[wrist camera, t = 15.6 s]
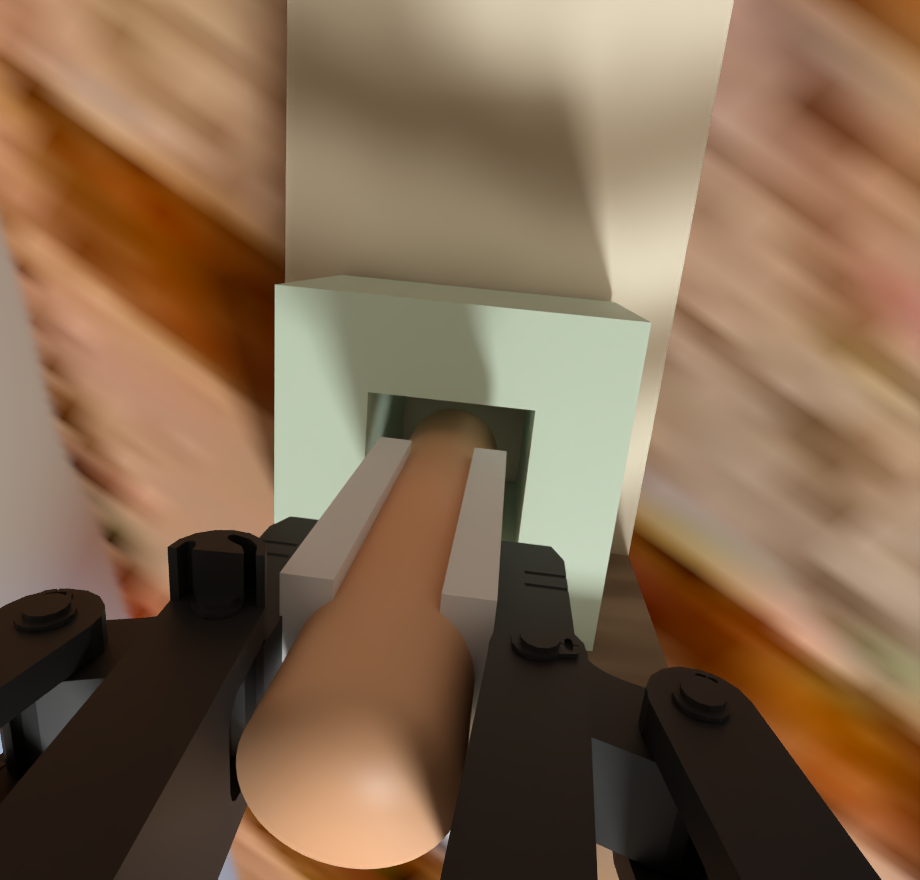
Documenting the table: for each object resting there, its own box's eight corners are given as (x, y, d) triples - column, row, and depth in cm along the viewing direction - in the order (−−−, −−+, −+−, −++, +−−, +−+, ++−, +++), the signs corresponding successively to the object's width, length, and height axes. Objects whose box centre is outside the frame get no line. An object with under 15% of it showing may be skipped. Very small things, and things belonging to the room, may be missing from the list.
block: (341, 275, 21) (274, 284, 15) (614, 301, 20) (651, 322, 15) (333, 521, 24) (273, 609, 18) (574, 551, 23) (592, 651, 17)
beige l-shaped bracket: (304, -63, 20) (121, -329, 11) (727, -35, 19) (920, -296, 10) (295, 564, 26) (177, 731, 17) (609, 604, 25) (659, 801, 16)
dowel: (411, 405, 18) (230, 670, 7) (500, 412, 18) (471, 697, 7) (407, 488, 19) (240, 853, 8) (493, 497, 19) (455, 883, 7)
